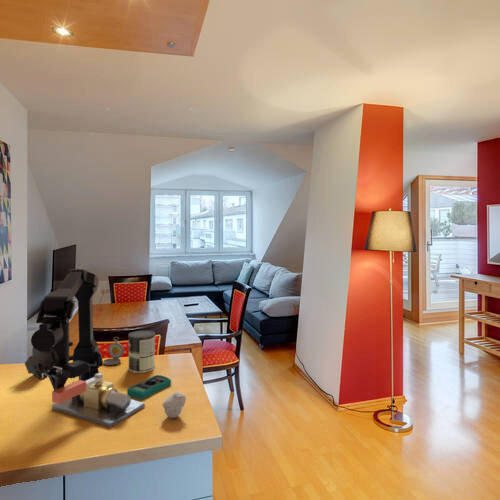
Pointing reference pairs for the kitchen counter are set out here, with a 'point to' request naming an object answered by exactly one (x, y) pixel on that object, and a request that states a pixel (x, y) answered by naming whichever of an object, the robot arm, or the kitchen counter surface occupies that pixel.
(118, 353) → the pocket watch
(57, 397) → the lever
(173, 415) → the pale grey rock
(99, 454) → the kitchen counter surface
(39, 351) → the battery charger
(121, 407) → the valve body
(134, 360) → the coffee can
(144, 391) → the digital multimeter
